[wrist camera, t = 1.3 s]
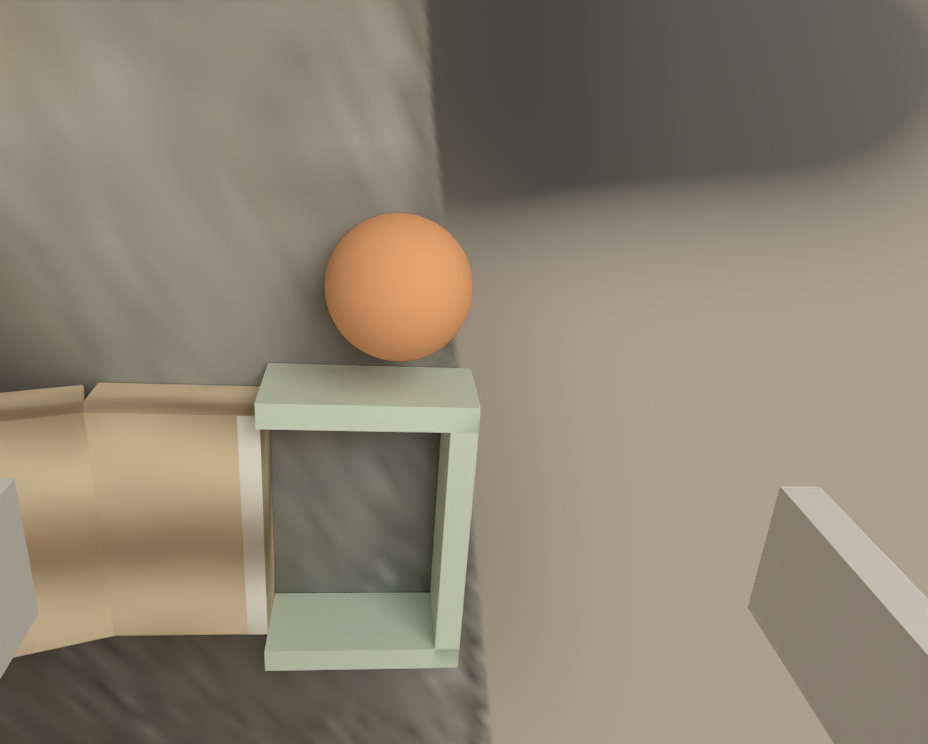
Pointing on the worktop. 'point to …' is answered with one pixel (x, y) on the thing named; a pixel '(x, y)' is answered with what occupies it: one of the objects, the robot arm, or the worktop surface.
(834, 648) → the robot arm
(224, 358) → the worktop surface
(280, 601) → the tray
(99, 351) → the worktop surface
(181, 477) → the ramp lane
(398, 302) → the ball
